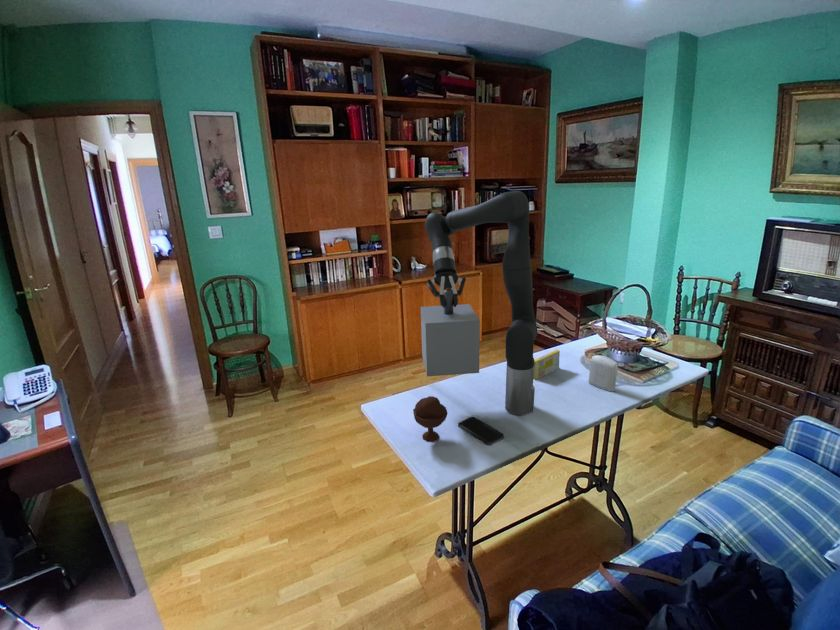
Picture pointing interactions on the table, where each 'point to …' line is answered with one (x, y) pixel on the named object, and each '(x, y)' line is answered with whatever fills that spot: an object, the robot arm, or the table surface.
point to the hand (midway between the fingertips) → (449, 305)
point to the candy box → (546, 364)
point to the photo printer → (603, 372)
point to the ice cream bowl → (430, 416)
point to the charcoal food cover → (450, 338)
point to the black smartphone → (481, 431)
